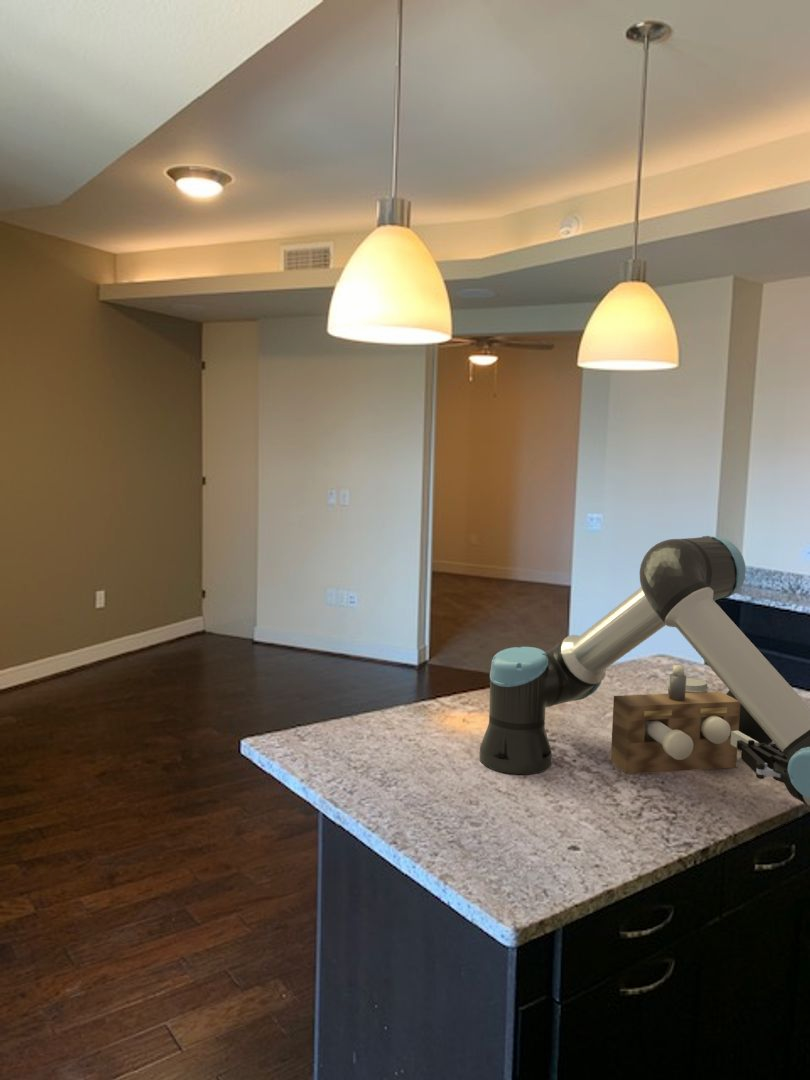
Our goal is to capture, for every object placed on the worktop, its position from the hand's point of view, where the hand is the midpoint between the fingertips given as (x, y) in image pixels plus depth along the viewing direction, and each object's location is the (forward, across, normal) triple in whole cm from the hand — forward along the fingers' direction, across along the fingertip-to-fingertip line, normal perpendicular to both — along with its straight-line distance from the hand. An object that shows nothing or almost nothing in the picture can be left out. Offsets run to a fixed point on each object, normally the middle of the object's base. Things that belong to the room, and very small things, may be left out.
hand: (734, 737), depth 155 cm
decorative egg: (+17, +16, -10) cm, 25 cm away
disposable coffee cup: (+30, +8, -10) cm, 33 cm away
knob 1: (+6, -13, -3) cm, 14 cm away
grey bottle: (+11, -6, +5) cm, 13 cm away
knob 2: (+12, 0, -3) cm, 13 cm away
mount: (+11, -6, -9) cm, 16 cm away
